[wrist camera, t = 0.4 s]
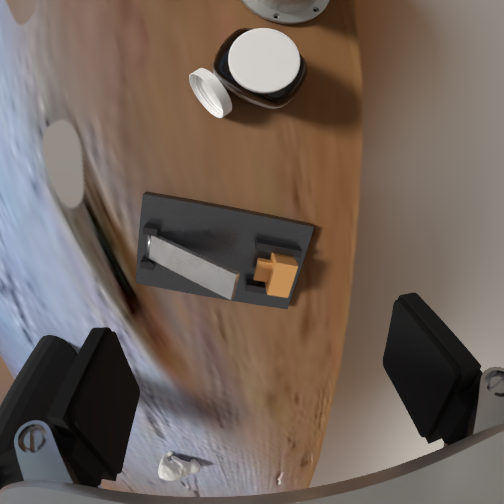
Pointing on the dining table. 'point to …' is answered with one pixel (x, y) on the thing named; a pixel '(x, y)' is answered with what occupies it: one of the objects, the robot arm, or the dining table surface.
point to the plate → (219, 244)
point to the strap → (193, 266)
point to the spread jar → (251, 71)
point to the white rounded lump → (176, 467)
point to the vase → (35, 387)
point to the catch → (276, 274)
